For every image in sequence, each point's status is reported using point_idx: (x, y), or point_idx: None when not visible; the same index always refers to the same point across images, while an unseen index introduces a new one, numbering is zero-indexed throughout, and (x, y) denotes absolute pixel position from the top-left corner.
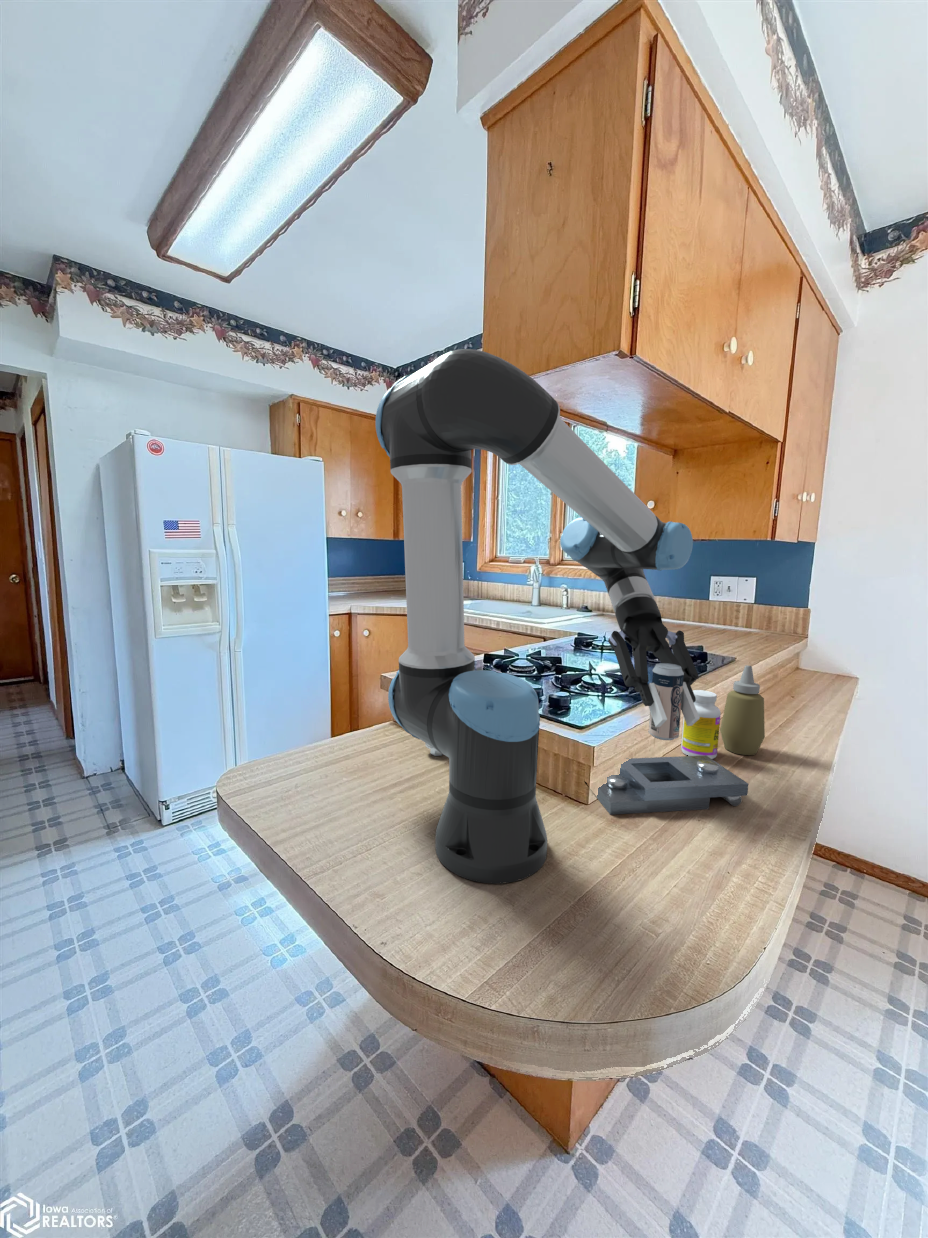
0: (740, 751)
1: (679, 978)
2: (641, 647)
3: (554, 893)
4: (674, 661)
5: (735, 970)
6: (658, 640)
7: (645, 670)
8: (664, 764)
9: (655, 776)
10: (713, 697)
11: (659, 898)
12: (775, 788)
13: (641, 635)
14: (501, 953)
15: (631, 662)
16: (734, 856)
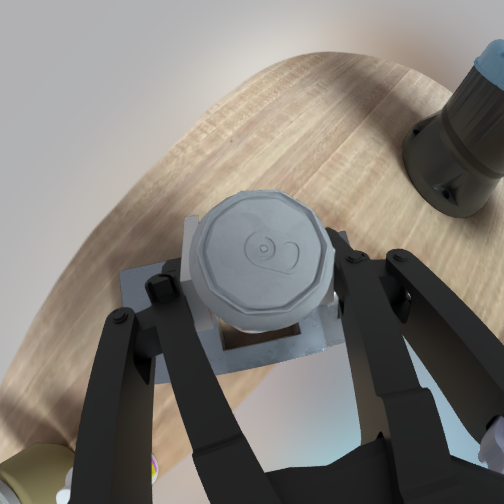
0: (68, 450)
1: (310, 63)
2: (412, 391)
3: (388, 117)
4: (189, 366)
5: (274, 66)
6: (276, 496)
7: (359, 286)
8: (231, 349)
9: (247, 345)
10: (64, 488)
11: (308, 110)
12: (67, 339)
13: (437, 474)
14: (405, 83)
15: (430, 298)
16: (210, 165)
